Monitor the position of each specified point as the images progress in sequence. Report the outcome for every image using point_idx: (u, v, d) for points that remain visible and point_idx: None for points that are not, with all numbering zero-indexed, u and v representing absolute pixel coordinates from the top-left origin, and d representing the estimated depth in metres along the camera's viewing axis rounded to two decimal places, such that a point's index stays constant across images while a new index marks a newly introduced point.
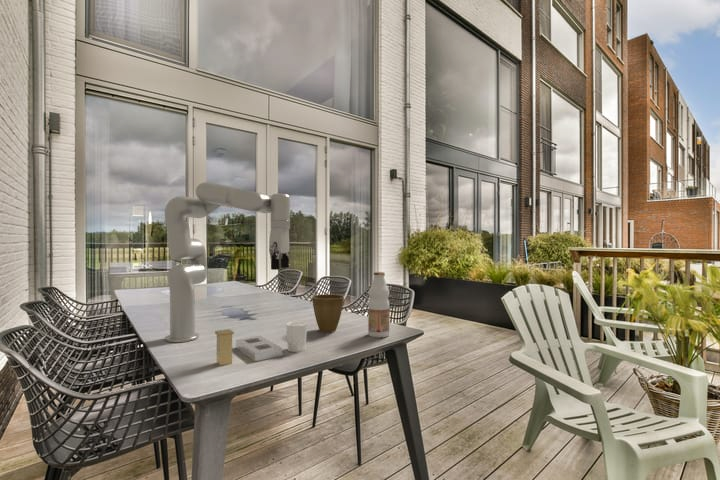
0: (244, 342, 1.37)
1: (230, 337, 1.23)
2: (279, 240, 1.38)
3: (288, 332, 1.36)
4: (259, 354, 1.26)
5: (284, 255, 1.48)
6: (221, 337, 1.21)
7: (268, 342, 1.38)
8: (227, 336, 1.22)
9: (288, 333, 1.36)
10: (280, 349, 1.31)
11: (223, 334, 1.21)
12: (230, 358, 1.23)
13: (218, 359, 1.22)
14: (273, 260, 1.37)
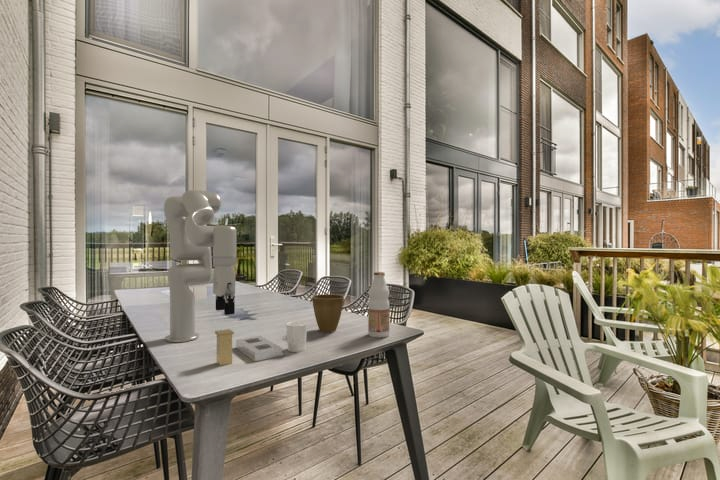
0: (244, 342, 1.37)
1: (230, 337, 1.23)
2: (234, 280, 1.21)
3: (288, 332, 1.36)
4: (259, 354, 1.26)
5: (219, 296, 1.27)
6: (221, 337, 1.21)
7: (268, 342, 1.38)
8: (227, 336, 1.22)
9: (288, 333, 1.36)
10: (280, 349, 1.31)
11: (223, 334, 1.21)
12: (230, 358, 1.23)
13: (218, 359, 1.22)
14: (229, 304, 1.18)
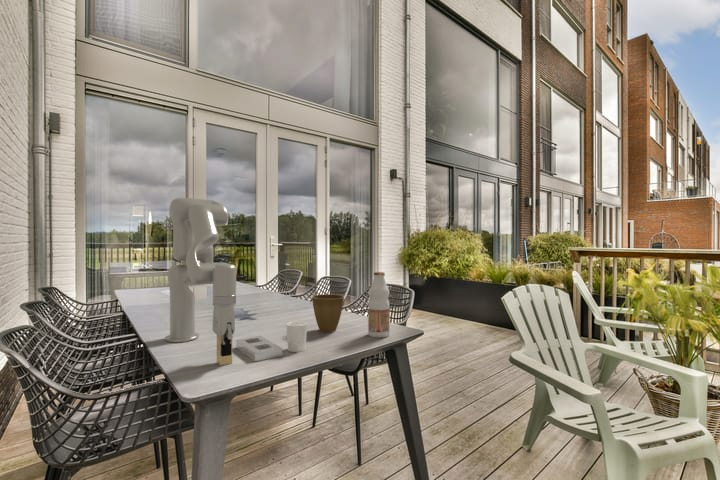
0: (244, 342, 1.37)
1: None
2: (233, 319, 1.21)
3: (288, 332, 1.36)
4: (259, 354, 1.26)
5: None
6: (221, 337, 1.21)
7: (268, 342, 1.38)
8: None
9: (288, 333, 1.36)
10: (280, 349, 1.31)
11: None
12: (230, 358, 1.23)
13: (218, 359, 1.22)
14: (226, 345, 1.21)
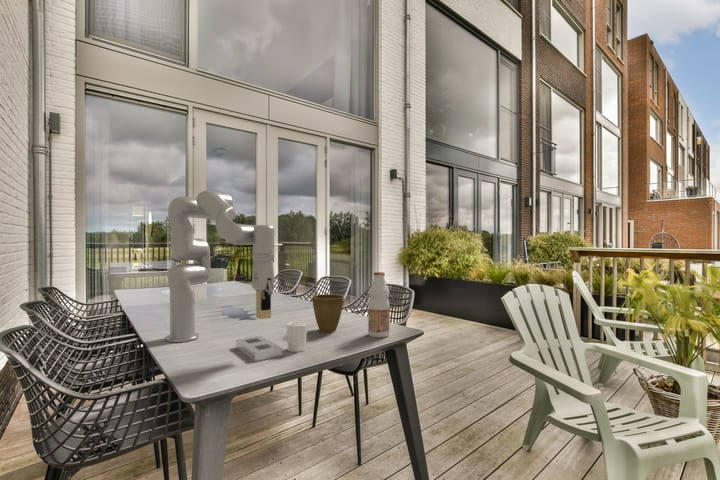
0: (244, 342, 1.37)
1: None
2: (273, 276, 1.29)
3: (288, 332, 1.36)
4: (259, 354, 1.26)
5: None
6: (261, 292, 1.29)
7: (268, 342, 1.38)
8: None
9: (288, 333, 1.36)
10: (280, 349, 1.31)
11: None
12: (269, 312, 1.31)
13: (258, 313, 1.30)
14: (266, 300, 1.29)
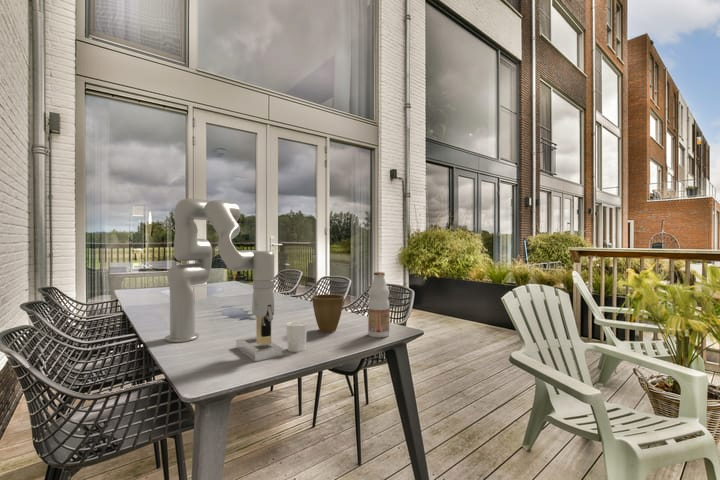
0: (244, 342, 1.37)
1: None
2: (273, 302, 1.29)
3: (288, 332, 1.36)
4: (259, 354, 1.26)
5: None
6: (261, 319, 1.29)
7: None
8: (267, 318, 1.31)
9: (288, 333, 1.36)
10: (280, 349, 1.31)
11: None
12: (269, 339, 1.31)
13: (258, 339, 1.30)
14: (266, 327, 1.29)
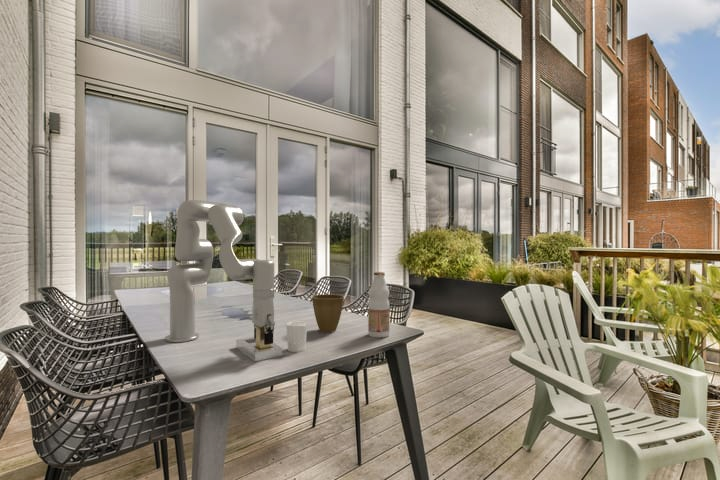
0: (244, 342, 1.37)
1: None
2: (273, 311, 1.29)
3: (288, 332, 1.36)
4: (259, 354, 1.26)
5: None
6: (261, 331, 1.29)
7: None
8: None
9: (288, 333, 1.36)
10: (280, 349, 1.31)
11: (263, 328, 1.29)
12: None
13: None
14: (269, 334, 1.27)
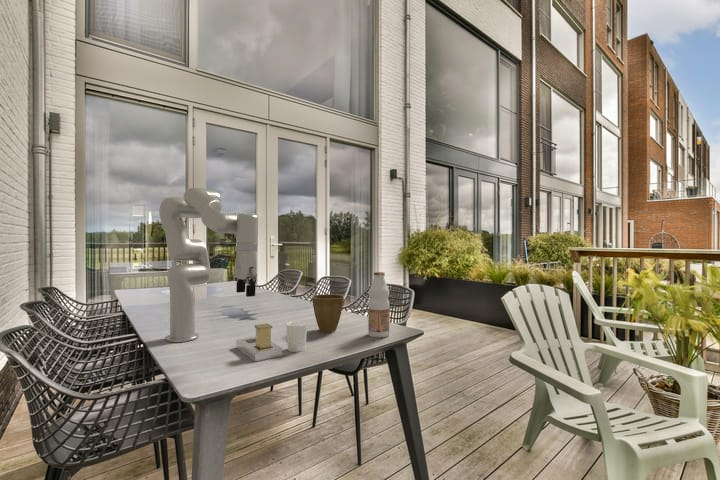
0: (244, 342, 1.37)
1: (269, 331, 1.31)
2: (255, 265, 1.30)
3: (288, 332, 1.36)
4: (259, 354, 1.26)
5: (240, 279, 1.36)
6: (261, 331, 1.29)
7: None
8: (266, 330, 1.31)
9: (288, 333, 1.36)
10: (280, 349, 1.31)
11: (263, 328, 1.29)
12: None
13: None
14: (251, 286, 1.28)
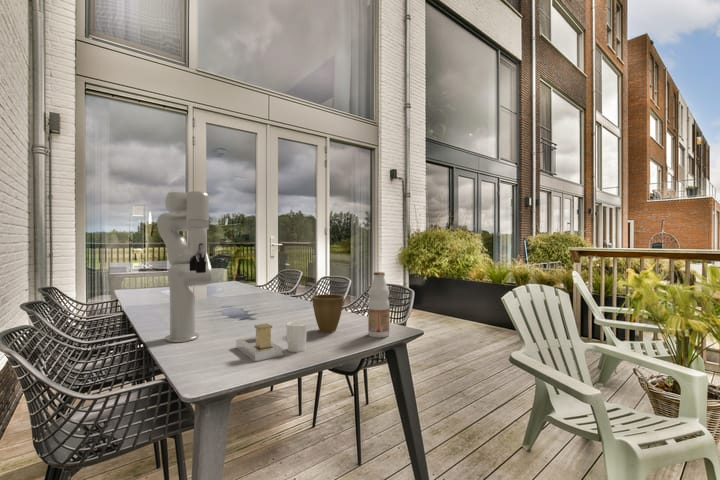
0: (244, 342, 1.37)
1: (269, 331, 1.31)
2: (205, 241, 1.30)
3: (288, 332, 1.36)
4: (259, 354, 1.26)
5: (193, 257, 1.37)
6: (261, 331, 1.29)
7: None
8: (266, 330, 1.31)
9: (288, 333, 1.36)
10: (280, 349, 1.31)
11: (263, 328, 1.29)
12: None
13: None
14: (200, 263, 1.28)
